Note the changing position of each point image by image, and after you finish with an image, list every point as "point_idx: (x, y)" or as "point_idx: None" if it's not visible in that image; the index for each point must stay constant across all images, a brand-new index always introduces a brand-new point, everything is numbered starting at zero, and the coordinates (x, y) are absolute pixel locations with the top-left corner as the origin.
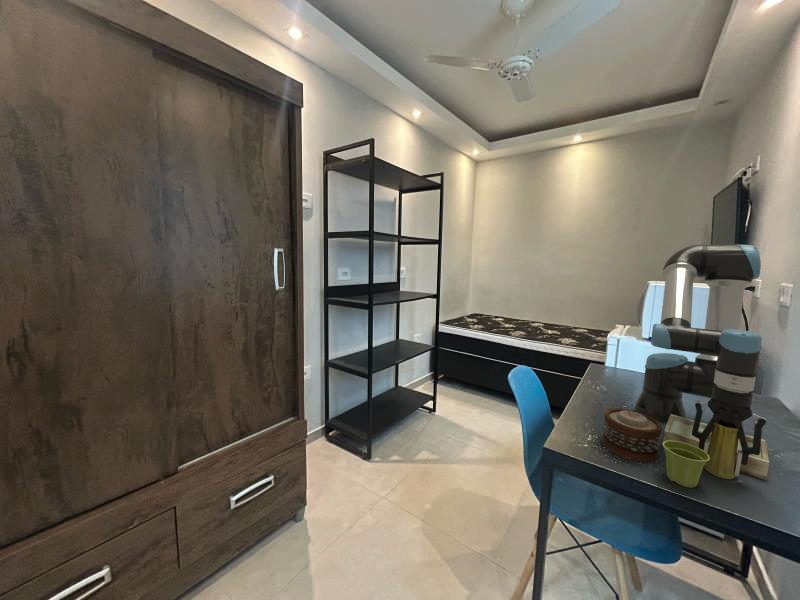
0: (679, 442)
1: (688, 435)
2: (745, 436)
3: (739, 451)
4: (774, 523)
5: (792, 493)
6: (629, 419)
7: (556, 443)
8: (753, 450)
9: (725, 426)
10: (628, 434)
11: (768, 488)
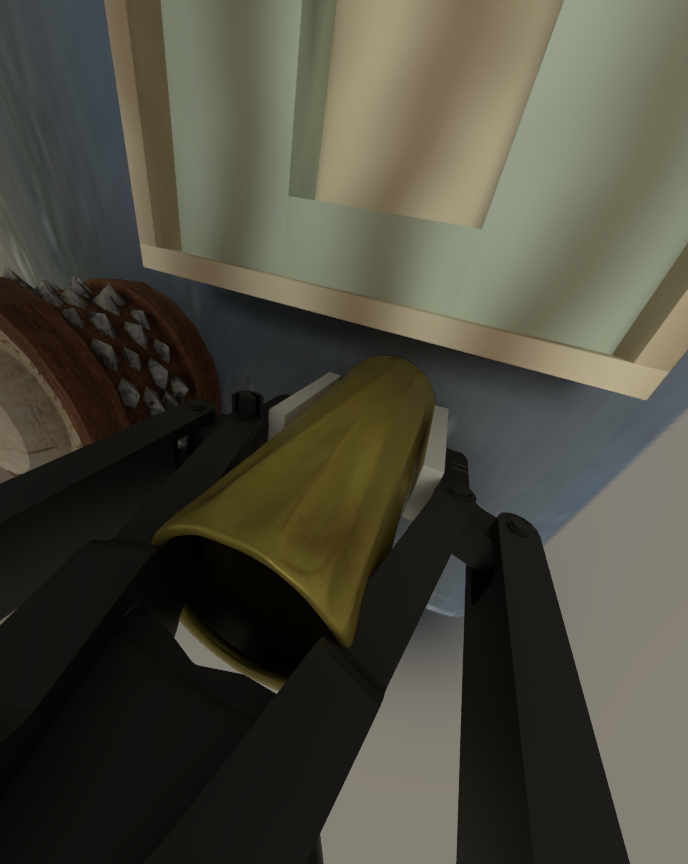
0: None
1: (259, 139)
2: (440, 574)
3: (414, 502)
4: (440, 598)
5: (649, 440)
6: (4, 468)
7: None
8: (468, 576)
9: (285, 495)
10: None
11: (542, 442)
